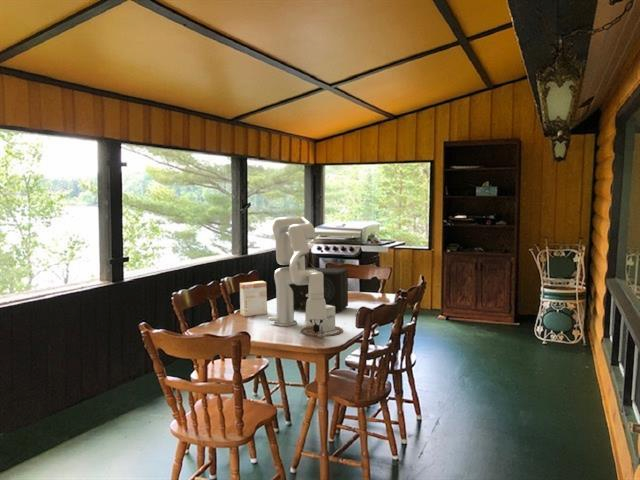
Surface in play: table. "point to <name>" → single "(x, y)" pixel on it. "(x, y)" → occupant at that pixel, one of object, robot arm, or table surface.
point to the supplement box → (329, 319)
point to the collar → (321, 332)
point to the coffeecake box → (253, 298)
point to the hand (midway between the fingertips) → (316, 332)
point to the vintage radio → (326, 289)
